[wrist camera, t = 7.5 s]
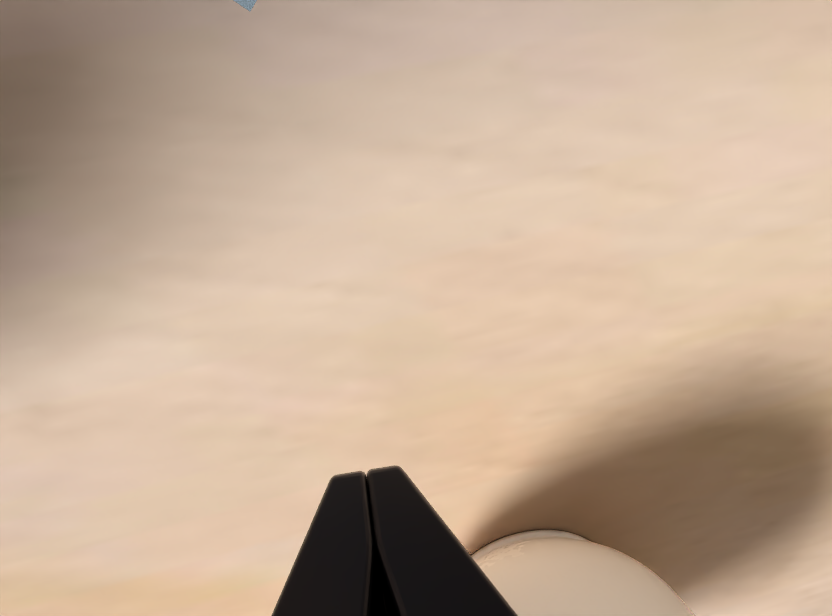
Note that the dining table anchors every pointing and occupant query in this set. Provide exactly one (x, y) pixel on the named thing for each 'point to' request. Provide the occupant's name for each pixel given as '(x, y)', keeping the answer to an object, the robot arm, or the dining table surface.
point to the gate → (246, 3)
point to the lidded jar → (573, 578)
